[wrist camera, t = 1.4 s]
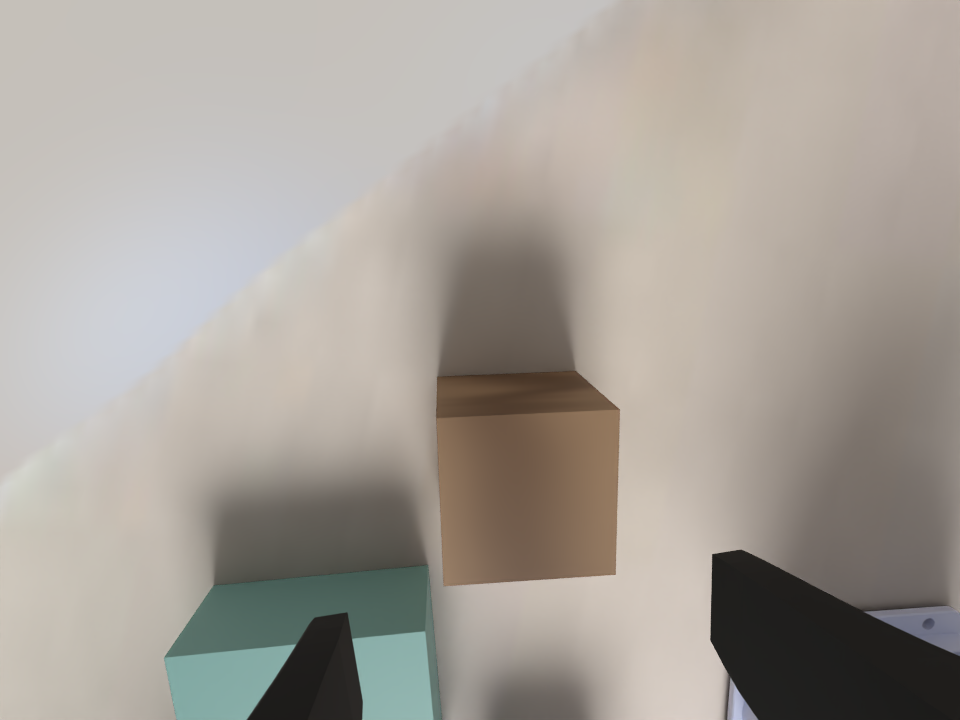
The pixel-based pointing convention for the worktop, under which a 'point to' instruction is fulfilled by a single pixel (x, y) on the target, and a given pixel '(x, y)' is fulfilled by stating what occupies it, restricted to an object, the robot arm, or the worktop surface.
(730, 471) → the worktop surface
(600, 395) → the walnut cube
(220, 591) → the teal base block
